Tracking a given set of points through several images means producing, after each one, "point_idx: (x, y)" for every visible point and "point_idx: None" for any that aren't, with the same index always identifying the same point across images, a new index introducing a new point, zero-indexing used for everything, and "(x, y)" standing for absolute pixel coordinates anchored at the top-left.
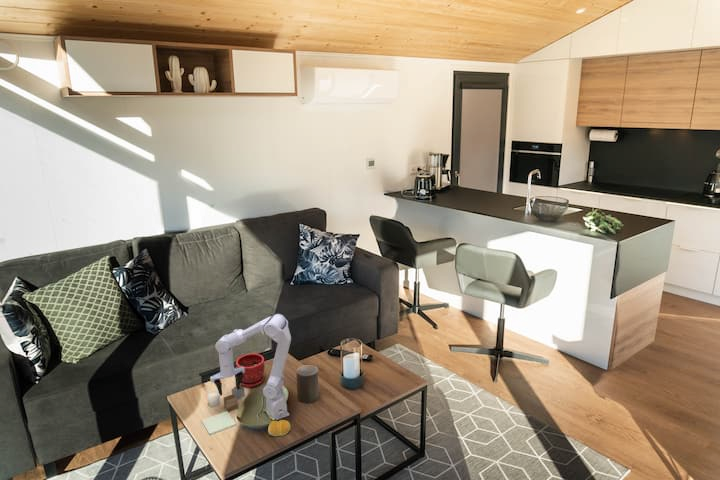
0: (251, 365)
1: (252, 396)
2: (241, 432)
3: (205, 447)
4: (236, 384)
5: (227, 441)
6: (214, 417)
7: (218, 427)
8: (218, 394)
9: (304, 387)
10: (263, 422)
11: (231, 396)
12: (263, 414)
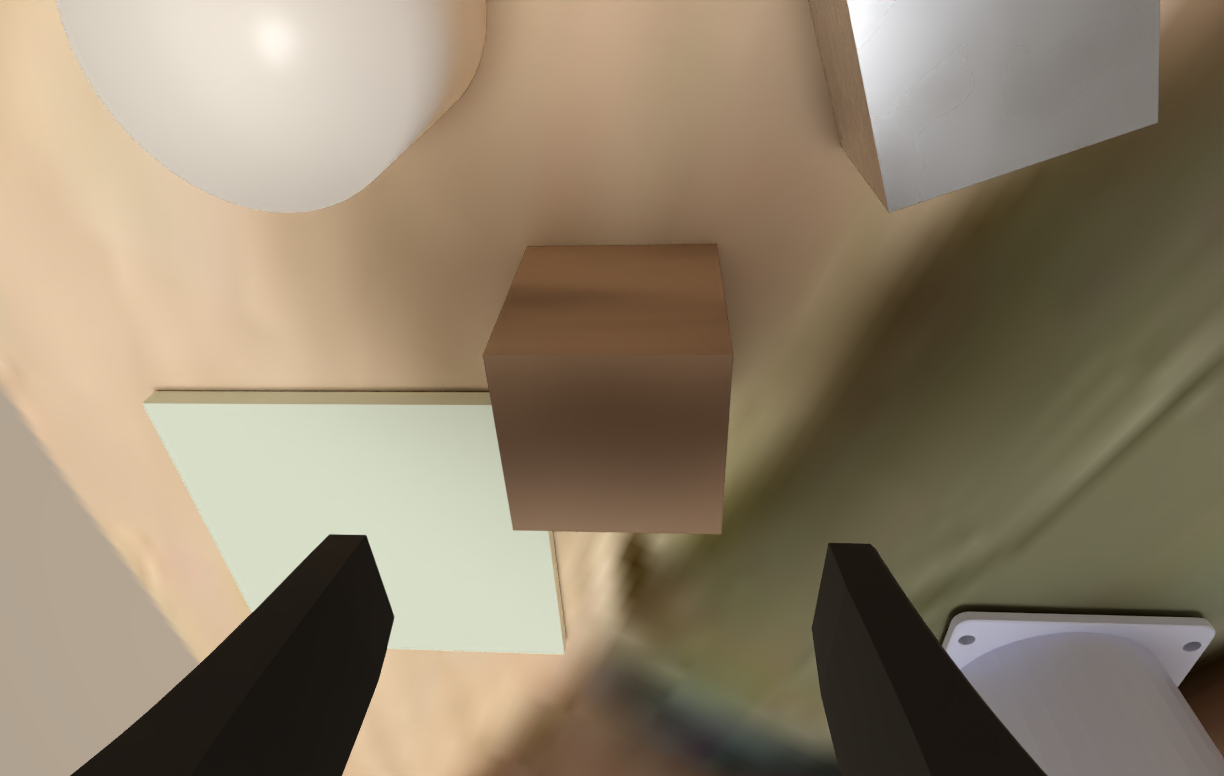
0: None
1: (1124, 206)
2: (577, 725)
3: None
4: (857, 672)
5: (431, 746)
6: (330, 443)
7: None
8: (386, 163)
9: None
10: (826, 722)
11: (657, 418)
12: None
